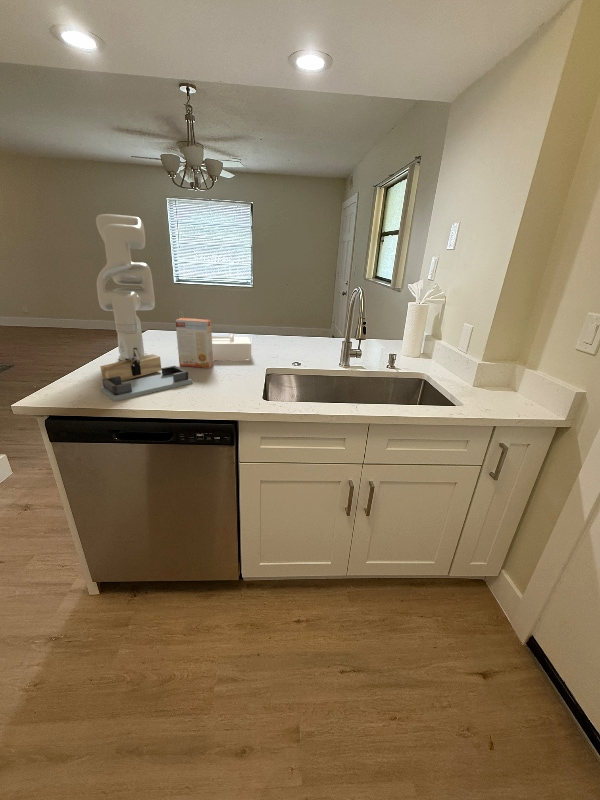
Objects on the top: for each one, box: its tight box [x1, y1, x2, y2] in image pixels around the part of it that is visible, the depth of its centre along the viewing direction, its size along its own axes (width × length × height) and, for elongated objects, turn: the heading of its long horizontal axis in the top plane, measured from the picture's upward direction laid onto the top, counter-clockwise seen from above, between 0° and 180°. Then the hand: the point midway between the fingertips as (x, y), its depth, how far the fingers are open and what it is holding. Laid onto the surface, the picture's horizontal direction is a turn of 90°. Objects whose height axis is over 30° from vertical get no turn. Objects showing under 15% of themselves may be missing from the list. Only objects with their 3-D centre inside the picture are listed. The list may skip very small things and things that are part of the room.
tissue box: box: [212, 333, 252, 361], centre depth 169 cm, size 14×25×11 cm, turn 103°
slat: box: [99, 353, 162, 382], centre depth 134 cm, size 5×22×6 cm, turn 147°
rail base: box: [99, 365, 193, 402], centre depth 127 cm, size 13×29×4 cm, turn 137°
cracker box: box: [175, 317, 214, 369], centre depth 151 cm, size 14×6×21 cm, turn 84°
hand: (133, 372), depth 135 cm, fingers closed on slat, 5 cm apart
